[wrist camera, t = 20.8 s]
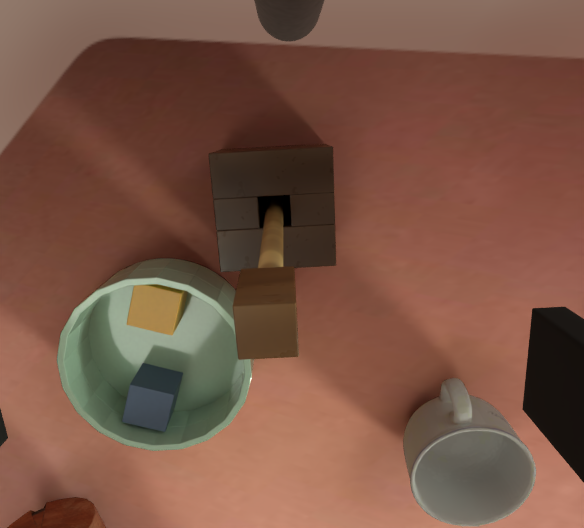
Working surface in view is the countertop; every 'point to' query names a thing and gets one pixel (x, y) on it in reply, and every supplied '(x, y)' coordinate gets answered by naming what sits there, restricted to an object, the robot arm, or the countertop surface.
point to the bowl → (156, 356)
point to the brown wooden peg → (267, 297)
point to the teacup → (466, 459)
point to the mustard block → (156, 308)
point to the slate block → (152, 397)
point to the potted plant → (62, 515)
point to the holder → (270, 182)
